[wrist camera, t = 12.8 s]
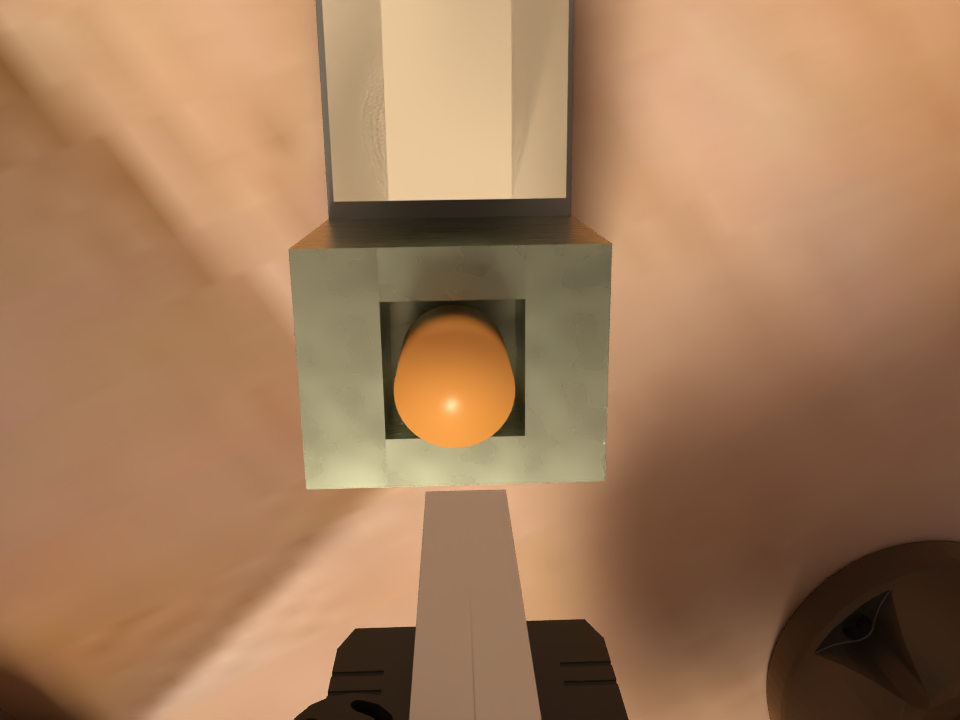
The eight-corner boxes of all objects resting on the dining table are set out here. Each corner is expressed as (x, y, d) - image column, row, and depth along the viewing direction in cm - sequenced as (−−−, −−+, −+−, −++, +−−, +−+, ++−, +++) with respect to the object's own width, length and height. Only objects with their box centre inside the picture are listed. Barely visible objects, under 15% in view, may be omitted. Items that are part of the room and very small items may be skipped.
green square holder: (567, 212, 36) (612, 243, 26) (564, 391, 38) (605, 481, 28) (332, 216, 35) (288, 249, 26) (342, 396, 37) (306, 489, 28)
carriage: (533, 21, 32) (569, -24, 23) (533, 179, 34) (565, 197, 24) (357, 22, 32) (320, -22, 23) (365, 181, 34) (333, 201, 24)
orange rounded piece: (505, 301, 28) (515, 330, 24) (505, 402, 29) (515, 446, 25) (399, 303, 28) (391, 333, 24) (403, 404, 29) (396, 449, 25)
